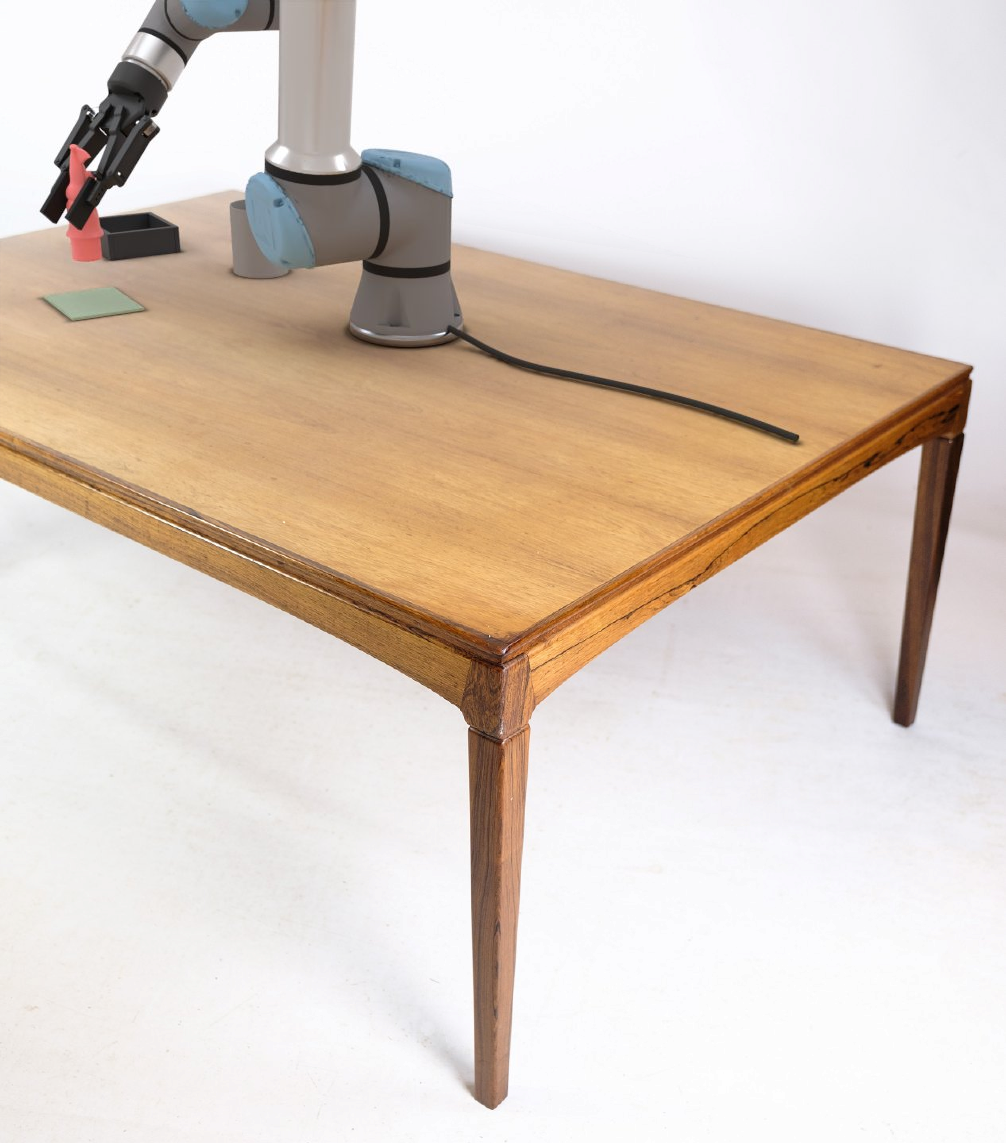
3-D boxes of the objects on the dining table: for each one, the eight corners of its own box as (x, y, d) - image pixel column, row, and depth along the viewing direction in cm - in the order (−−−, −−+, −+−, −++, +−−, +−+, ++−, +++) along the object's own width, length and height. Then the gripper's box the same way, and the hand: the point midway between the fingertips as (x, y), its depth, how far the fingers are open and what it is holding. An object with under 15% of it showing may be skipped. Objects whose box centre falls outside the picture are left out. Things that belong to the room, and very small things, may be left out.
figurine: (116, 257, 178) (104, 144, 170) (87, 265, 174) (74, 150, 166) (89, 250, 180) (77, 139, 173) (60, 258, 176) (47, 144, 169)
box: (180, 251, 206) (178, 226, 204) (110, 260, 200) (107, 234, 198) (153, 236, 214) (150, 211, 213) (84, 243, 208) (81, 218, 207)
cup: (294, 265, 201) (292, 200, 197) (281, 279, 194) (278, 212, 189) (241, 262, 202) (237, 197, 197) (226, 276, 195) (222, 209, 190)
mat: (144, 310, 178) (144, 307, 178) (72, 321, 173) (72, 318, 173) (112, 289, 187) (112, 286, 186) (43, 298, 181) (43, 295, 181)
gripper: (206, 103, 175) (122, 248, 170) (118, 89, 183) (37, 226, 179) (173, 65, 168) (85, 214, 164) (84, 51, 177) (-2, 193, 172)
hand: (60, 220), depth 171 cm, fingers closed on figurine, 4 cm apart
